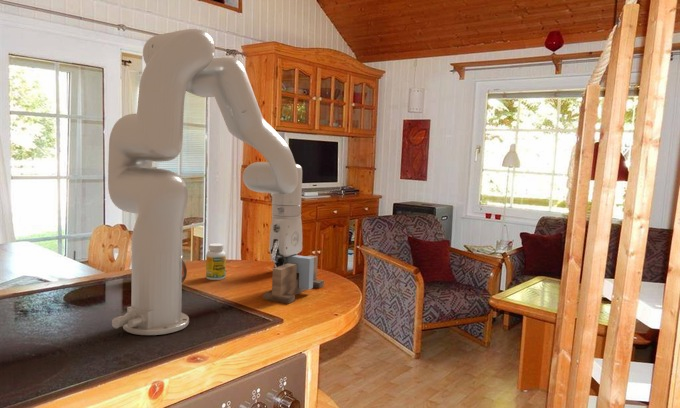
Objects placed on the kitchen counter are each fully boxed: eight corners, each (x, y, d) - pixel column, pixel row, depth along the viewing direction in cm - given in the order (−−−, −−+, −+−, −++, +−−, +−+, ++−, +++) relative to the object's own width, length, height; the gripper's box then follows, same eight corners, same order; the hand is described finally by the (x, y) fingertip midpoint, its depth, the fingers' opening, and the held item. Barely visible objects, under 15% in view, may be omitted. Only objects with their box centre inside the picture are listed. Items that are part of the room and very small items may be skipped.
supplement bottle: (219, 275, 147) (219, 242, 146) (229, 278, 143) (229, 245, 142) (202, 277, 143) (202, 243, 142) (212, 281, 139) (212, 246, 139)
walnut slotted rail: (288, 304, 122) (289, 271, 121) (263, 299, 124) (264, 267, 124) (324, 285, 140) (325, 257, 139) (301, 282, 143) (302, 254, 142)
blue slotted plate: (312, 287, 132) (314, 257, 131) (308, 289, 129) (309, 259, 129) (279, 282, 135) (280, 252, 135) (274, 284, 133) (275, 254, 132)
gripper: (283, 215, 123) (281, 290, 125) (313, 209, 138) (310, 276, 139) (257, 212, 126) (255, 285, 128) (288, 207, 140) (286, 273, 142)
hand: (284, 280), depth 133 cm, fingers closed on blue slotted plate, 2 cm apart
